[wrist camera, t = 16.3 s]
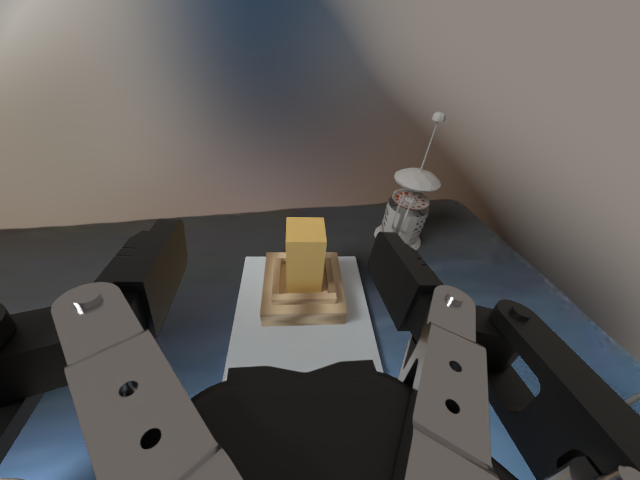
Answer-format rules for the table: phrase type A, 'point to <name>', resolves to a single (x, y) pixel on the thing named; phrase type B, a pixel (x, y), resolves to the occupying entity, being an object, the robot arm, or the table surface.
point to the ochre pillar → (305, 254)
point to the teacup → (9, 479)
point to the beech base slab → (302, 296)
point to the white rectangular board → (300, 329)
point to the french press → (411, 200)
